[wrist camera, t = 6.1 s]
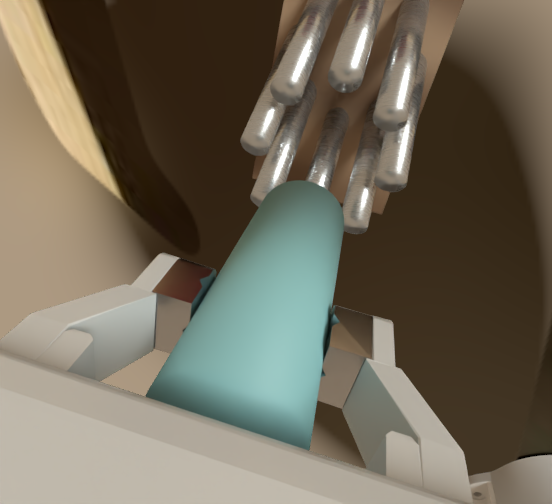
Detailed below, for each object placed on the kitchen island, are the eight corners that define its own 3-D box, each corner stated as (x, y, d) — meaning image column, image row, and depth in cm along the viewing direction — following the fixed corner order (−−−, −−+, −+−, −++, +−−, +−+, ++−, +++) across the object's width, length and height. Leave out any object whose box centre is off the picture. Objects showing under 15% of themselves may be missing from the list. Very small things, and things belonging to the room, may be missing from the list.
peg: (355, 194, 14) (330, 405, 7) (330, 267, 16) (288, 502, 8) (267, 169, 14) (145, 347, 7) (252, 245, 16) (141, 453, 9)
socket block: (308, -82, 25) (300, -93, 22) (472, -45, 24) (483, -52, 21) (261, 165, 33) (251, 178, 31) (381, 198, 32) (381, 214, 30)
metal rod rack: (315, -77, 24) (278, -127, 15) (462, -44, 24) (513, -76, 15) (267, 165, 32) (225, 223, 24) (375, 194, 32) (374, 266, 23)
